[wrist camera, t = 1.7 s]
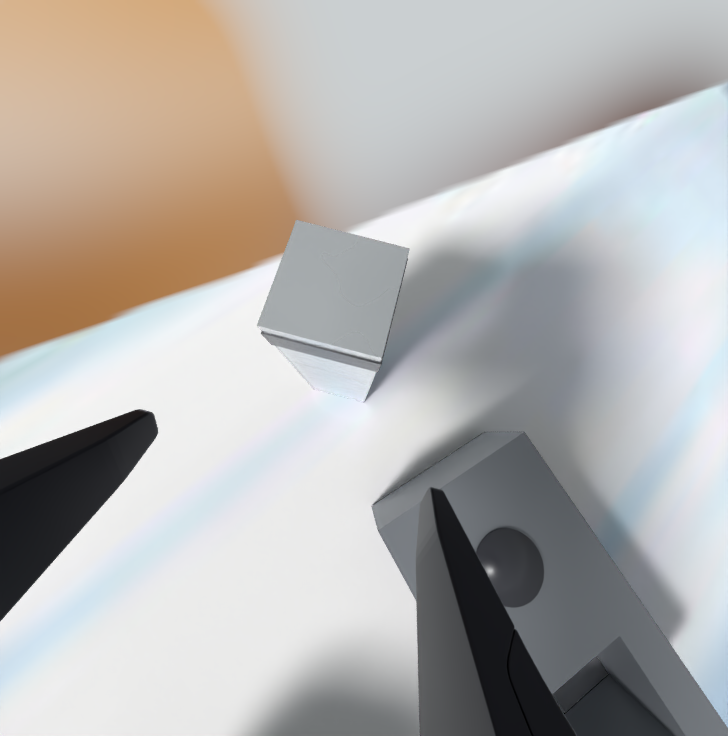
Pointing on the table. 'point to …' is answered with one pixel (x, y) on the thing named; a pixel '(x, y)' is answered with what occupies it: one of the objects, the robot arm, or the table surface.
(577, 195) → the table surface
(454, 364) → the table surface
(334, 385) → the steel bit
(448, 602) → the robot arm
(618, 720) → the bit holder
